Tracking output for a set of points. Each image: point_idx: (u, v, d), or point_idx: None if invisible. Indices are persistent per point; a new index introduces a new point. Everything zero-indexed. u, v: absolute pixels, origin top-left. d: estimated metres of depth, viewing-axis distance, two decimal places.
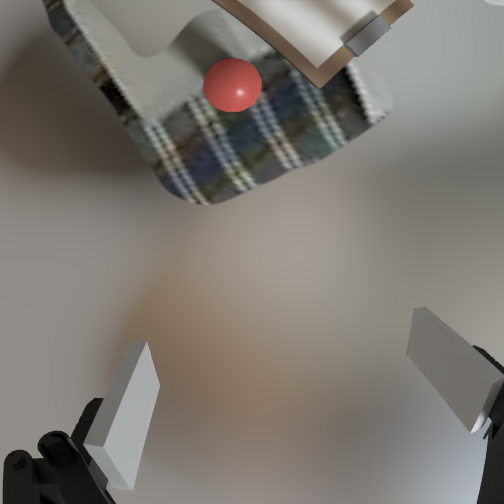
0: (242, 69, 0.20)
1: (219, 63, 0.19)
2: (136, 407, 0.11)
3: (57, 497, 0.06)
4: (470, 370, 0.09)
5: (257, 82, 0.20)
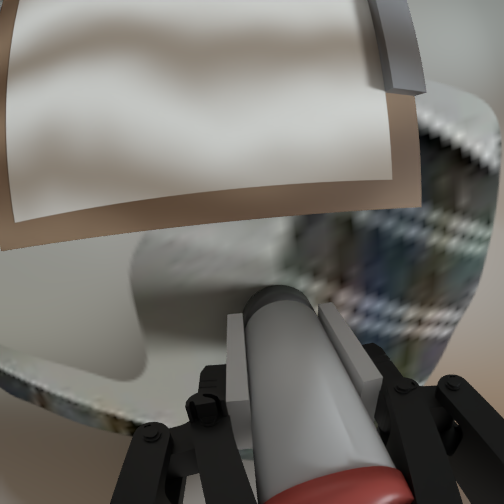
0: None
1: None
2: None
3: (192, 465, 0.08)
4: (350, 366, 0.11)
5: (396, 502, 0.05)
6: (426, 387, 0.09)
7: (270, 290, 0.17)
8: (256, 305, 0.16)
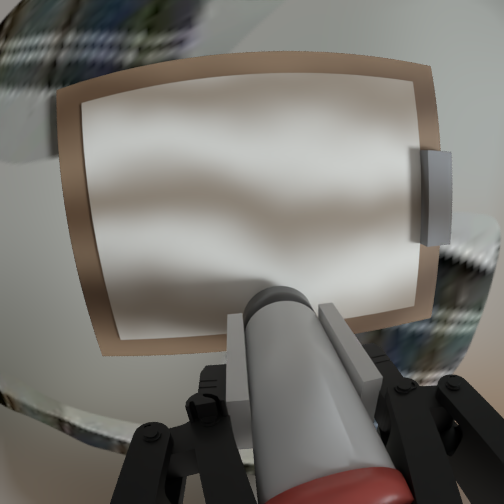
0: None
1: None
2: None
3: (192, 465, 0.08)
4: (350, 366, 0.11)
5: (396, 502, 0.05)
6: (426, 387, 0.09)
7: (270, 291, 0.17)
8: (256, 306, 0.16)
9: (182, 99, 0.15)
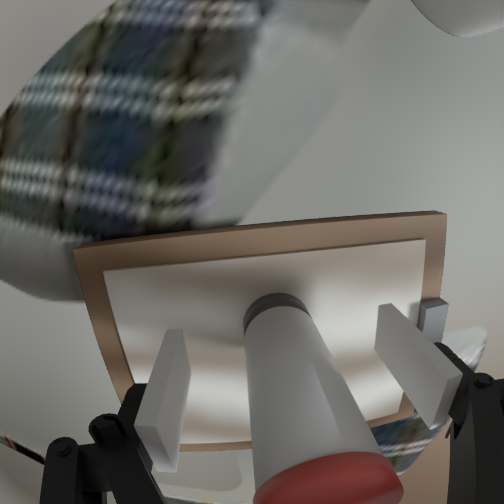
0: (325, 500, 0.06)
1: None
2: (176, 390, 0.12)
3: (103, 483, 0.07)
4: (427, 366, 0.10)
5: (382, 485, 0.06)
6: (496, 380, 0.08)
7: (269, 297, 0.17)
8: (255, 312, 0.17)
9: (204, 280, 0.18)
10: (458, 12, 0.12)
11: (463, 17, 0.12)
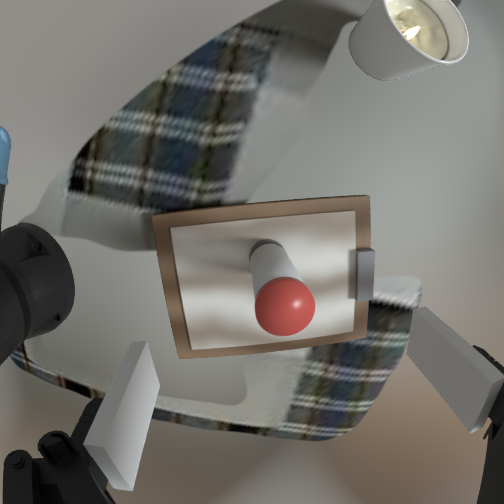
0: (280, 292, 0.21)
1: (258, 304, 0.21)
2: (136, 407, 0.11)
3: (57, 497, 0.06)
4: (470, 370, 0.09)
5: (302, 289, 0.21)
6: None
7: (263, 241, 0.33)
8: (255, 247, 0.32)
9: (228, 232, 0.33)
10: (379, 69, 0.27)
11: (383, 72, 0.27)
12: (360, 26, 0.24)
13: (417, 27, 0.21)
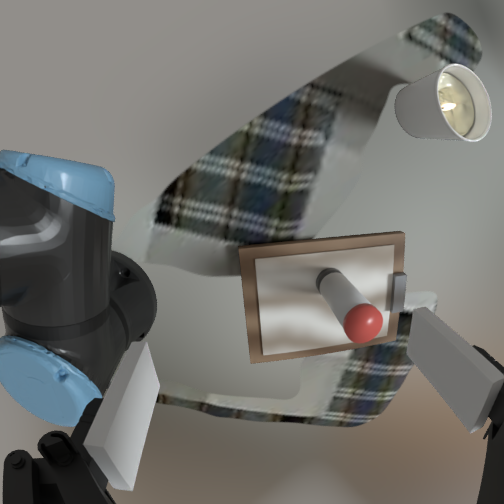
0: (363, 314, 0.29)
1: (348, 323, 0.30)
2: (136, 407, 0.11)
3: (57, 497, 0.06)
4: (470, 370, 0.09)
5: (376, 312, 0.30)
6: None
7: (328, 269, 0.41)
8: (323, 275, 0.40)
9: (301, 262, 0.41)
10: (419, 134, 0.36)
11: (422, 136, 0.36)
12: (409, 98, 0.33)
13: (454, 104, 0.30)
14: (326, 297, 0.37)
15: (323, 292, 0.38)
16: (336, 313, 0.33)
